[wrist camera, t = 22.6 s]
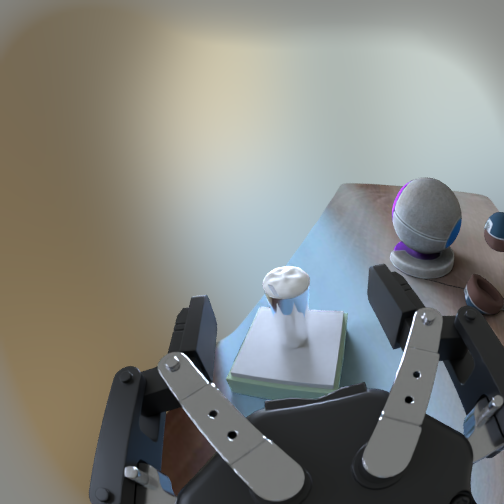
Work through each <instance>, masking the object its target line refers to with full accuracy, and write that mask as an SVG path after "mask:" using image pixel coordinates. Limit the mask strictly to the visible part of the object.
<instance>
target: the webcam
mask: <svg viewBox="0 0 504 504" xmlns="http://www.w3.org/2000/svg"><path fill="white" fill-rule="evenodd" d="M461 219H462V216H461V209H460V205H459V202H458V200H457V198H456V196H455V194H454V193H453V192H452V190H451V189H450V188H449V187H448V186H446V185H445V184H444V183H442V182H440V181H439V180H436V179H433V178H418V179H415V180H412V181H410V182H408V183H407V184H406V185H405V186H403V188H402V189H401V190H400V192H399V193H398V195H397V197H396V199H395V201H394V205H393V210H392V221H393V224H394V228H395V231H396V233H397V235H398V236H399V238H400V239H401V242H400V243H398V244H397V245H396V247H395V249H394V251H392V252H391V257H390V260H391V262H392V263H393V265H394V266H395V267H396V268H398V269H399V270H401V271H402V272H404V273H406V274H408V275H411V276H414V277H419V278H438V277H441V276H444V275H446V274H447V273H449V272H450V271H451V269H452V267H453V264H454V253H453V251H452V249H451V247H450V245H451V244H452V243H453V242H454V240H455V239H456V237H457V235H458V233H459V230H460V227H461Z"/></svg>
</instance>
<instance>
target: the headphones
mask: <svg viewBox="0 0 504 504" xmlns="http://www.w3.org/2000/svg"><path fill="white" fill-rule="evenodd" d="M484 229H485V232H484V237H485V240H486V242H487V244H488V245H489V246H490V247H491V248H492V249H494V250H496V251H499V252H504V213H503V212H497V213H494V214H493V215H491V216H490V217H489V219H488V220H487V222H486V224H485V227H484ZM425 280H427V279H425ZM430 281H432V280H430ZM434 282H436V281H434ZM438 283H440V282H438ZM441 284H443V283H441ZM445 285H447V284H445ZM449 286H451V285H449ZM453 287H455V286H453ZM458 288H459V287H458ZM462 289H464V288H462ZM464 292H465V300H466V304H467V306H471V307H474V308H476V309H477V310H479V311H480V313H482V314H496V313H498V312H499V311H500V310H504V309H501V308H504V299H503V298H502V296H501V294H500V293H499V292H498V291H497V289H496V288H495V287H494V286H493V285H492V284H491V283H489V282H488V281H487V280H486V279H484V278H483V277H481V276H480V275H478V274H473V275H472V276H471V278H470V279H469V280H468V282H467V285H466V289H465V290H464Z"/></svg>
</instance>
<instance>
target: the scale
mask: <svg viewBox="0 0 504 504" xmlns="http://www.w3.org/2000/svg"><path fill="white" fill-rule="evenodd" d="M347 316H348V314H347V313H344V311H324V310H309V320H308V338H307V340H306V342H305V344H304V345H302V346H300V347H298V348H287V347H285V346H283V345H282V344H281V342H280V339H279V335H278V332H277V328H276V325H275V321H274V318H273V315H272V312H271V309H270V307H260V308H259V309H258V311H257V314H256V316H255V318H254V320H253V322H252V325H251V327H250V328H249V330H248V333H247V335H246V337H245V339H244V341H243V343H242V345H241V348H240V350H239V352H238V354H237V356H236V358H235V360H234V363H233V365H232V368H231V370H230V372H229V374H228V376H227V378H226V380H227V382H228V384H229V386H230V388H231V391H232V392H233V393H238V394H243V395H248V396H253V397H259V398H265V399H271V400H276V399H283V398H290V397H291V398H313V399H315V398H319V397H322V396H324V395H326V394H329V393H331V392H333V391H335V390H337V389H339V386H340V379H341V372H342V365H343V358H344V350H345V341H346V332H347Z"/></svg>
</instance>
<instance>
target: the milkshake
mask: <svg viewBox="0 0 504 504" xmlns="http://www.w3.org/2000/svg"><path fill="white" fill-rule="evenodd" d="M309 288H310V278H309V275H308V274H307V273H306V272H304V271H303V270H302V269H300V268H298V267H292V266H285V267H279V268H276V269H274V270H272V271H271V272H270V273H268V274H267V275H266V276H265V278H264V280H263V289H264V292H265V295H266V298H267V301H268V304H269V307H270V309H271V312H272V315H273V318H274V321H275V325H276V328H277V332H278V335H279V339H280V342H281V344H282V345H283V346H285V347H287V348H298V347H300V346H302V345H304V344H305V342H306V340H307V338H308V320H309Z"/></svg>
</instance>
